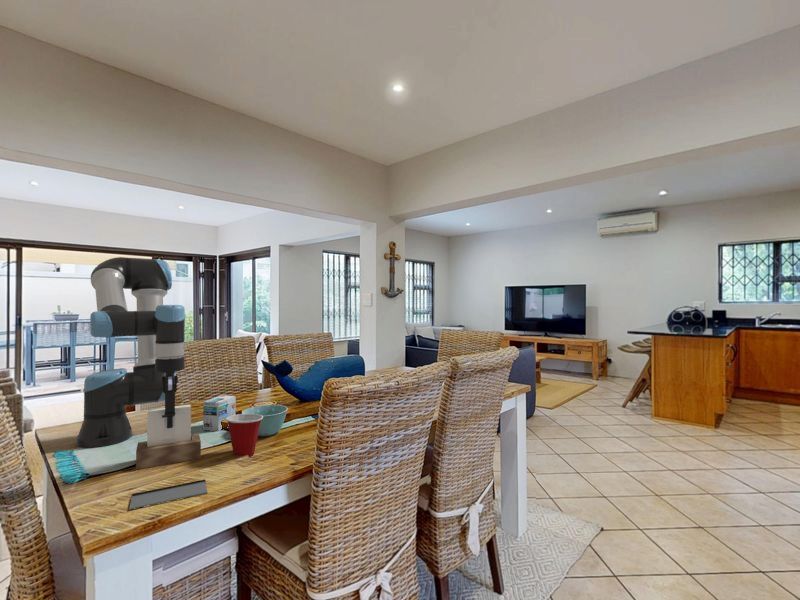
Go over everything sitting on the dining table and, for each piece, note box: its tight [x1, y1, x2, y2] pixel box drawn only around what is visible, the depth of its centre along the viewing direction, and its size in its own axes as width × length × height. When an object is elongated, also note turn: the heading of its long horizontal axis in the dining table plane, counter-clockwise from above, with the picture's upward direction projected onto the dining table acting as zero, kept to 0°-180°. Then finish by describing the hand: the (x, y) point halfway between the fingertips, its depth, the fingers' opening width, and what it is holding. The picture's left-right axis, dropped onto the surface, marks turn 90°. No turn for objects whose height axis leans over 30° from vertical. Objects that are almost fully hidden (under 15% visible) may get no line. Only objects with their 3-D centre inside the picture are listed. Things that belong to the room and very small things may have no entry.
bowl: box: [241, 404, 289, 437], centre depth 144 cm, size 16×16×8 cm
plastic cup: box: [226, 413, 263, 458], centre depth 123 cm, size 11×11×12 cm
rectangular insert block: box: [146, 404, 192, 447], centre depth 117 cm, size 11×2×15 cm, turn 120°
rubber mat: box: [129, 479, 208, 511], centre depth 103 cm, size 16×20×1 cm
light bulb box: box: [202, 394, 237, 432], centre depth 150 cm, size 11×7×11 cm, turn 168°
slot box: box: [135, 432, 202, 471], centre depth 117 cm, size 16×8×6 cm, turn 120°
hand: (169, 436), depth 117 cm, fingers closed on rectangular insert block, 2 cm apart
